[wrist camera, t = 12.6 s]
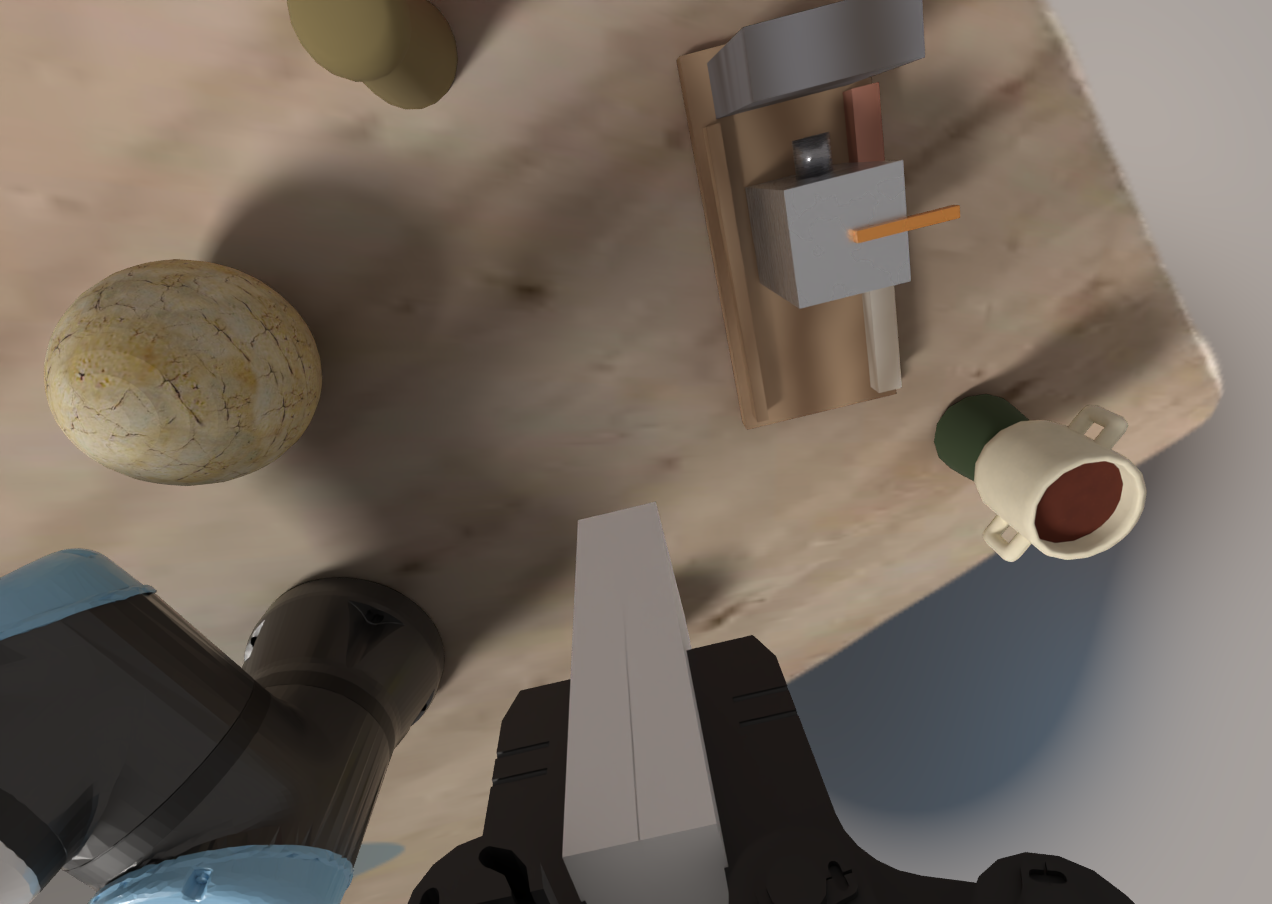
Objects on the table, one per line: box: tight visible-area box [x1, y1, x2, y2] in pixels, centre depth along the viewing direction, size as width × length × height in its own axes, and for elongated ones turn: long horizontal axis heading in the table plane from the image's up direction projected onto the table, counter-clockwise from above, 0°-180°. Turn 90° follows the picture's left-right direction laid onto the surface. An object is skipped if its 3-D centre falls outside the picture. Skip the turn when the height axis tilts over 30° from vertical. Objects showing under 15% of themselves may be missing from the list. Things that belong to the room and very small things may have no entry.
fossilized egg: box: [44, 259, 322, 486], centre depth 37 cm, size 13×13×15 cm
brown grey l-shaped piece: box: [677, 0, 925, 430], centre depth 38 cm, size 11×24×12 cm, turn 13°
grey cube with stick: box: [745, 132, 960, 309], centre depth 37 cm, size 8×8×10 cm
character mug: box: [934, 394, 1147, 562], centre depth 44 cm, size 11×7×13 cm, turn 153°
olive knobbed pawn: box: [287, 0, 458, 109], centre depth 33 cm, size 6×6×11 cm
